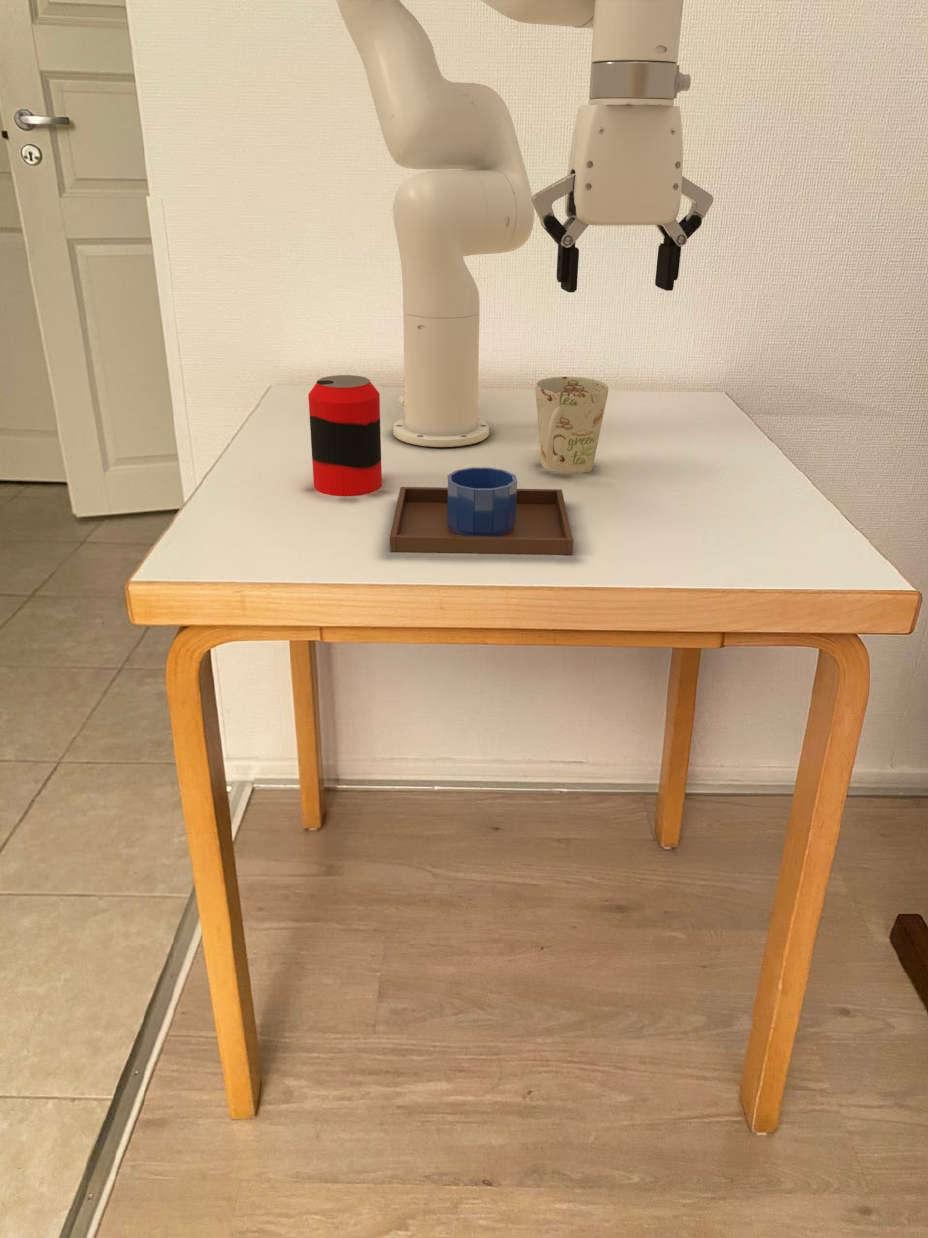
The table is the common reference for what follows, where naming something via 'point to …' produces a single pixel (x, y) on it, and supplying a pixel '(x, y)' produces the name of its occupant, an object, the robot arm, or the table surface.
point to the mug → (569, 422)
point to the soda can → (345, 436)
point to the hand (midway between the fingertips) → (616, 289)
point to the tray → (533, 534)
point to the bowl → (481, 501)
